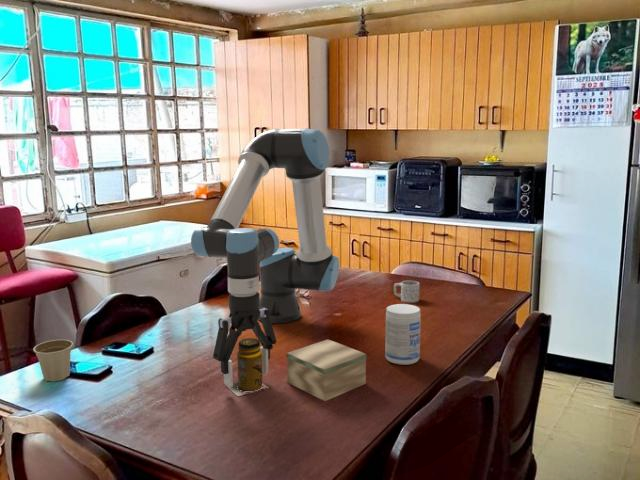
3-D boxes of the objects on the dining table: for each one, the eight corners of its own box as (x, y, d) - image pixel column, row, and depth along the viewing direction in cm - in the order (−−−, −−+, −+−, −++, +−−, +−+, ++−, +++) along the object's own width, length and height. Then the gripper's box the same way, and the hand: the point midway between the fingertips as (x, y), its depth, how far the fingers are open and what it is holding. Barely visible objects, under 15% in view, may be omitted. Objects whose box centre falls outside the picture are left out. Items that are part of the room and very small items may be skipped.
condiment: (269, 388, 147) (267, 342, 145) (238, 397, 142) (236, 350, 140) (255, 378, 153) (254, 334, 151) (225, 386, 148) (223, 340, 146)
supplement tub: (416, 367, 159) (418, 315, 156) (381, 363, 161) (382, 312, 159) (421, 354, 168) (423, 304, 165) (388, 351, 170) (389, 302, 168)
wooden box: (287, 382, 150) (286, 352, 148) (327, 367, 159) (327, 339, 158) (324, 401, 140) (324, 369, 138) (366, 383, 149) (366, 353, 148)
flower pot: (51, 388, 148) (47, 355, 146) (29, 379, 153) (25, 348, 151) (83, 374, 156) (80, 343, 154) (61, 367, 161) (58, 337, 159)
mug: (421, 299, 220) (422, 282, 219) (414, 303, 215) (415, 286, 214) (397, 295, 226) (397, 278, 224) (389, 299, 220) (390, 282, 219)
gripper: (212, 305, 133) (216, 397, 137) (289, 286, 148) (291, 370, 152) (194, 298, 138) (199, 387, 143) (271, 281, 153) (273, 361, 157)
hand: (246, 378), depth 147 cm, fingers open, 10 cm apart
